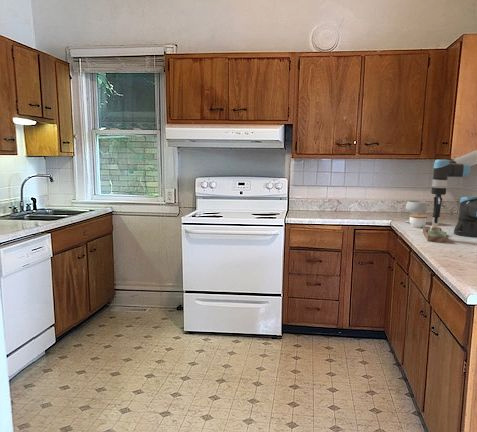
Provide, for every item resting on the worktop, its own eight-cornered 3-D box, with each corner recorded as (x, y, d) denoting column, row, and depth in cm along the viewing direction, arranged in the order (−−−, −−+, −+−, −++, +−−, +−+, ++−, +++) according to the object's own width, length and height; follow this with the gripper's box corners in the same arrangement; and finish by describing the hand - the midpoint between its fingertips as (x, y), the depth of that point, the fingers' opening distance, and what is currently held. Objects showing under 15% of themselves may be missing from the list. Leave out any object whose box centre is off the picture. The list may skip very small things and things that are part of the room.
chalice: (418, 225, 287) (420, 203, 285) (400, 221, 299) (402, 200, 297) (430, 223, 295) (432, 202, 293) (412, 220, 307) (414, 200, 304)
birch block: (438, 234, 241) (439, 226, 240) (439, 235, 236) (440, 227, 236) (429, 233, 242) (430, 225, 241) (430, 234, 238) (431, 226, 237)
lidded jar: (411, 224, 288) (412, 211, 286) (428, 227, 281) (429, 213, 279) (406, 226, 279) (407, 212, 278) (423, 229, 273) (424, 214, 271)
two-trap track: (438, 233, 258) (439, 224, 257) (445, 242, 232) (446, 231, 231) (422, 232, 260) (423, 223, 259) (427, 241, 235) (428, 230, 234)
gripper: (430, 186, 245) (426, 225, 249) (433, 187, 233) (428, 229, 237) (444, 186, 243) (440, 227, 246) (448, 188, 230) (443, 230, 234)
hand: (434, 228), depth 242 cm, fingers closed
